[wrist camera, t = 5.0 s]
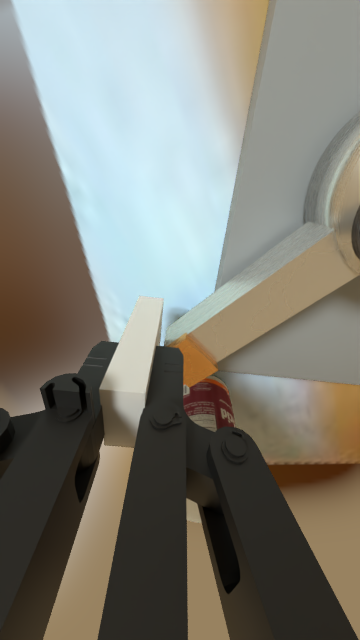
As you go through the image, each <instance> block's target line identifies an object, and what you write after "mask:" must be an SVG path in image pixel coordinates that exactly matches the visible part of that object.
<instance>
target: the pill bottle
mask: <svg viewBox="0 0 360 640" xmlns="http://www.w3.org/2000/svg"><path fill="white" fill-rule="evenodd" d="M183 405H184V410H185V412H186V414H187V415H188V417H189V418H190V419H191V420H192V421H193V422H195V423H196V424H198V425H200V426H202V427H204V428H206V429H209V430H211V431H214V432H215V431H216V430H217V429H220V428H222V427H235V428H236V426H235V420H234V416H233V410H232V405H231V401H230V396H229V391H228V388H227V386H226V385H225V383H224V382H223V381H221V380H220V379H219V378H217V377H215V376H211V375H210V376H208V377H206V378H205V379H203V380H201V381H200V382H198V383H196V384H195V385H193V386H191V387H190V388H189V387H188V386H187V385H185V384H184V383H183ZM186 508H187V520H188V521H192V522H197V523H202V522H201V518H200V513H199V509H198V505H197V503H195V502H193V501H191V500H189V499H187V498H186Z"/></svg>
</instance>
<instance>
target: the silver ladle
mask: <svg viewBox="0 0 360 640" xmlns="http://www.w3.org/2000/svg"><path fill="white" fill-rule="evenodd" d="M304 219H305V224H303V225H302V226H301V227H300V228H298V229H297V230H296V231H294V232H293V233H292V234H290V235H289V236H288V237H286V238H285V239H284V240H282V241H281V242H280V243H278V244H277V245H276V246H274V247H273V248H272V249H270V250H269V251H268V252H266V253H265V254H264V255H263V256H261V257H260V258H259V259H257V260H256V261H255V262H253V263H252V264H251V265H249V266H248V267H247V268H245V269H244V270H243V271H241V272H240V273H239V274H237V275H236V276H235V277H233V278H232V279H231V280H229V281H228V282H227V283H226V284H224V285H223V286H222V287H220V288H219V289H218V290H216V291H215V292H214V293H212V294H211V295H210V296H208V297H207V298H206V299H204V300H203V301H202V302H200V303H199V304H198V305H196V306H195V307H194V308H192V309H191V310H190V311H189V312H187V313H186V314H185V315H183V316H182V317H181V318H179V319H178V320H177V321H175V322H174V323H173V324H171V325H170V326H169V327H167V330H166V336H165V342H164V347H174V348H179V349H180V351H181V352H182V354H183V356H184V364H183V383H184V384H185V385H187V386H188V387H189V388H190V387H191V386H193V385H195V384H196V383H198V382H200V381H201V380H203V379H205V378H206V377H208V376H210V375H211V374H213V373H215V372H217V371H218V365H217V362H219V361H220V360H222V359H223V358H225V357H227V356H228V355H230V354H232V353H233V352H235V351H236V350H238V349H240V348H241V347H243V346H245V345H246V344H248V343H249V342H251V341H253V340H254V339H256V338H258V337H259V336H261V335H262V334H264V333H266V332H267V331H269V330H271V329H272V328H274V327H276V326H277V325H279V324H280V323H282V322H284V321H285V320H287V319H289V318H290V317H292V316H293V315H295V314H297V313H298V312H300V311H302V310H303V309H305V308H306V307H308V306H310V305H311V304H313V303H315V302H316V301H318V300H320V299H321V298H323V297H324V296H326V295H328V294H329V293H331V292H333V291H334V290H336V289H337V288H339V287H341V286H342V285H344V284H346V283H347V282H349V281H350V280H352V279H354V278H355V277H357V276H359V275H360V111H359V112H358V113H357V114H355V115H354V116H353V117H352V118H351V119H350V120H349V121H348V122H347V123H346V124H345V125H344V126H343V127H342V128H341V129H340V131H339V132H338V133H337V134H336V135H335V136H334V138H333V139H332V140H331V142H330V143H329V144H328V146H327V147H326V149H325V150H324V152H323V154H322V155H321V157H320V159H319V160H318V162H317V165H316V167H315V169H314V171H313V173H312V176H311V179H310V182H309V184H308V188H307V192H306V197H305V205H304Z"/></svg>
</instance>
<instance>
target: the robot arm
mask: <svg viewBox="0 0 360 640" xmlns="http://www.w3.org/2000/svg"><path fill="white" fill-rule="evenodd" d="M163 300H164V299H163V298H154V297H145V296H139V298H138V300H137V302H136V305H135V307H134V309H133V312H132V314H131V316H130V319H129V321H128V323H127V325H126V328H125V330H124V332H123V335H122V337H121V339H120V342H119V343H116V342H106V341H101V342H100V343H99V344H97V345H96V346H94V347H93V348H92V350H91V351H90V353H89V355H88V357H87V358H86V360H85V362H84V363H83V366H82V367H81V368H80V370H79V372H78V374H76V373H74V374H63V375H60V376H57V377H54V378H53V379H51V380H49V381H47V382H46V383H45V384H44V385H43V386H42V387H41V388H40V391H41V394H42V398H43V401H44V405H45V410H43V411H40V412H36V413H31V414H26V415H20V416H15V417H10V416H9V413H8V412H7V411H6V410H4V409H3V408H0V640H43V637H44V634H45V631H46V628H47V624H48V622H49V618H50V615H51V612H52V609H53V606H54V603H55V600H56V597H57V593H58V590H59V587H60V584H61V581H62V577H63V575H64V571H65V568H66V565H67V562H68V559H69V556H70V553H71V550H72V546H73V543H74V540H75V537H76V534H77V531H78V528H79V524H80V521H81V518H82V515H83V512H84V509H85V506H86V503H87V500H88V496H89V493H90V490H91V487H92V484H93V481H94V478H95V474H96V471H97V468H98V465H99V459H100V453H99V450H100V447H101V444H102V441H103V438H104V445H109V446H121V447H131V448H134V452H133V458H132V462H131V468H130V473H129V479H128V483H127V489H126V494H125V499H124V504H123V509H122V515H121V520H120V525H119V530H118V536H117V541H116V546H115V551H114V556H113V562H112V567H111V573H110V577H109V583H108V588H107V594H106V599H105V604H104V609H103V614H102V620H101V624H100V630H99V635H98V640H188V619H187V508H186V498H187V499H189V500H191V501H193V502H195V503H197V505H198V509H199V513H200V518H201V522H202V525H203V530H204V534H205V538H206V542H207V546H208V550H209V555H210V559H211V563H212V567H213V571H214V575H215V579H216V584H217V588H218V592H219V596H220V600H221V604H222V608H223V612H224V617H225V620H226V625H227V629H228V633H229V637H230V640H358V638H357V636H356V634H355V632H354V630H353V629H352V627H351V624H350V622H349V620H348V619H347V617H346V615H345V613H344V611H343V609H342V607H341V605H340V604H339V601H338V599H337V598H336V596H335V594H334V592H333V590H332V588H331V586H330V584H329V582H328V580H327V579H326V577H325V575H324V573H323V571H322V569H321V567H320V565H319V563H318V561H317V559H316V558H315V556H314V554H313V552H312V550H311V548H310V546H309V544H308V542H307V540H306V538H305V537H304V535H303V533H302V531H301V529H300V527H299V525H298V523H297V521H296V519H295V517H294V515H293V513H292V512H291V510H290V508H289V506H288V504H287V502H286V500H285V498H284V497H283V494H282V493H281V491H280V489H279V487H278V485H277V483H276V481H275V479H274V477H273V475H272V474H271V472H270V470H269V468H268V466H267V464H266V462H265V460H264V458H263V456H262V454H261V452H260V450H259V449H258V447H257V445H256V443H255V442H254V441H253V439H252V438H251V437H250V436H249V435H248V434H247V433H245V432H244V431H243V430H240V429H238V428H235V427H222V428H220V429H217V430H216V431H215V432H214V431H211V430H209V429H206V428H204V427H202V426H200V425H198V424H196V423H195V422H193V421H192V420H191V419H190V418H189V417H188V415H187V414H186V412H185V410H184V405H183V364H184V356H183V354H182V352H181V351H180V349H179V348H174V347H164V346H159V345H160V338H161V326H162V313H163Z"/></svg>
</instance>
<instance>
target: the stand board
mask: <svg viewBox="0 0 360 640" xmlns="http://www.w3.org/2000/svg"><path fill="white" fill-rule="evenodd" d="M359 111H360V0H270V1H269V6H268V11H267V17H266V22H265V27H264V33H263V38H262V43H261V48H260V54H259V59H258V64H257V70H256V75H255V80H254V86H253V91H252V96H251V101H250V107H249V112H248V117H247V123H246V128H245V133H244V138H243V144H242V149H241V154H240V160H239V165H238V170H237V175H236V181H235V186H234V191H233V197H232V202H231V207H230V212H229V218H228V223H227V228H226V234H225V239H224V244H223V249H222V255H221V260H220V265H219V271H218V276H217V281H216V286H215V291H216V290H218V289H219V288H220V287H222V286H223V285H224V284H226V283H227V282H228V281H229V280H231V279H232V278H233V277H235V276H236V275H237V274H239V273H240V272H241V271H243V270H244V269H245V268H247V267H248V266H249V265H251V264H252V263H253V262H255V261H256V260H257V259H259V258H260V257H261V256H263V255H264V254H265V253H266V252H268V251H269V250H270V249H272V248H273V247H274V246H276V245H277V244H278V243H280V242H281V241H282V240H284V239H285V238H286V237H288V236H289V235H290V234H292V233H293V232H294V231H296V230H297V229H298V228H300V227H301V226H302V225H303V224H305V219H304V205H305V197H306V192H307V188H308V184H309V182H310V179H311V176H312V173H313V171H314V169H315V167H316V165H317V162H318V160H319V159H320V157H321V155H322V154H323V152H324V150H325V149H326V147H327V146H328V144H329V143H330V142H331V140H332V139H333V138H334V136H335V135H336V134H337V133H338V132H339V131H340V129H341V128H342V127H343V126H344V125H345V124H346V123H347V122H348V121H349V120H350V119H351V118H352V117H353V116H354V115H355V114H357V113H358V112H359ZM217 365H218V371H224V372H234V373H244V374H254V375H264V376H274V377H284V378H294V379H304V380H314V381H324V382H334V383H344V384H354V385H360V275H359V276H357V277H355V278H354V279H352V280H350V281H349V282H347V283H346V284H344V285H342V286H341V287H339V288H337V289H336V290H334V291H333V292H331V293H329V294H328V295H326V296H324V297H323V298H321V299H320V300H318V301H316V302H315V303H313V304H311V305H310V306H308V307H306V308H305V309H303V310H302V311H300V312H298V313H297V314H295V315H293V316H292V317H290V318H289V319H287V320H285V321H284V322H282V323H280V324H279V325H277V326H276V327H274V328H272V329H271V330H269V331H267V332H266V333H264V334H262V335H261V336H259V337H258V338H256V339H254V340H253V341H251V342H249V343H248V344H246V345H245V346H243V347H241V348H240V349H238V350H236V351H235V352H233V353H232V354H230V355H228V356H227V357H225V358H223V359H222V360H220V361H219V362H217Z"/></svg>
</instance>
